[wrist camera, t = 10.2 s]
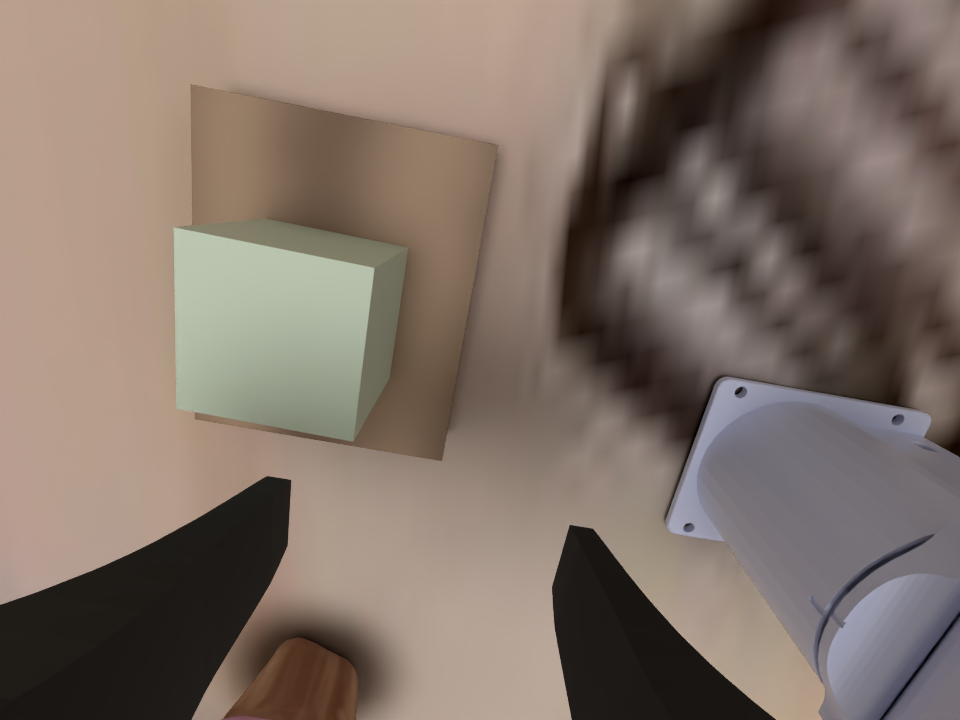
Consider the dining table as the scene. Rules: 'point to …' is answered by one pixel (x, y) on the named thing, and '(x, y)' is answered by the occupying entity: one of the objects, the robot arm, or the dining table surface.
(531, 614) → the dining table surface
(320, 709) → the cupcake
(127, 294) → the dining table surface
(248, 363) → the sage cube
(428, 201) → the walnut block
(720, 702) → the robot arm
